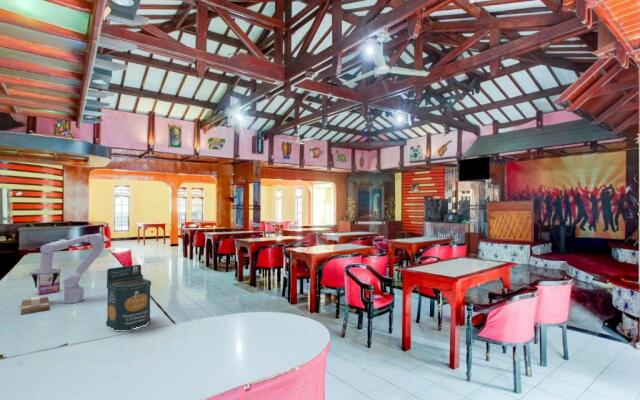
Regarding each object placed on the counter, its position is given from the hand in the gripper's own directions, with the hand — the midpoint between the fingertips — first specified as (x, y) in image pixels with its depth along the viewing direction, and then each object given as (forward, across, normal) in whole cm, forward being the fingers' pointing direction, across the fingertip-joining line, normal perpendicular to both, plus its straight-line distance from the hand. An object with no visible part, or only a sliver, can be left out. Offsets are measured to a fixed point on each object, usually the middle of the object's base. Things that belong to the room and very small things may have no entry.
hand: (44, 286), depth 201 cm
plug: (+10, +4, +11) cm, 15 cm away
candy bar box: (+11, -4, -30) cm, 33 cm away
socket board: (+10, +4, +6) cm, 12 cm away
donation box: (+8, -30, +74) cm, 81 cm away
